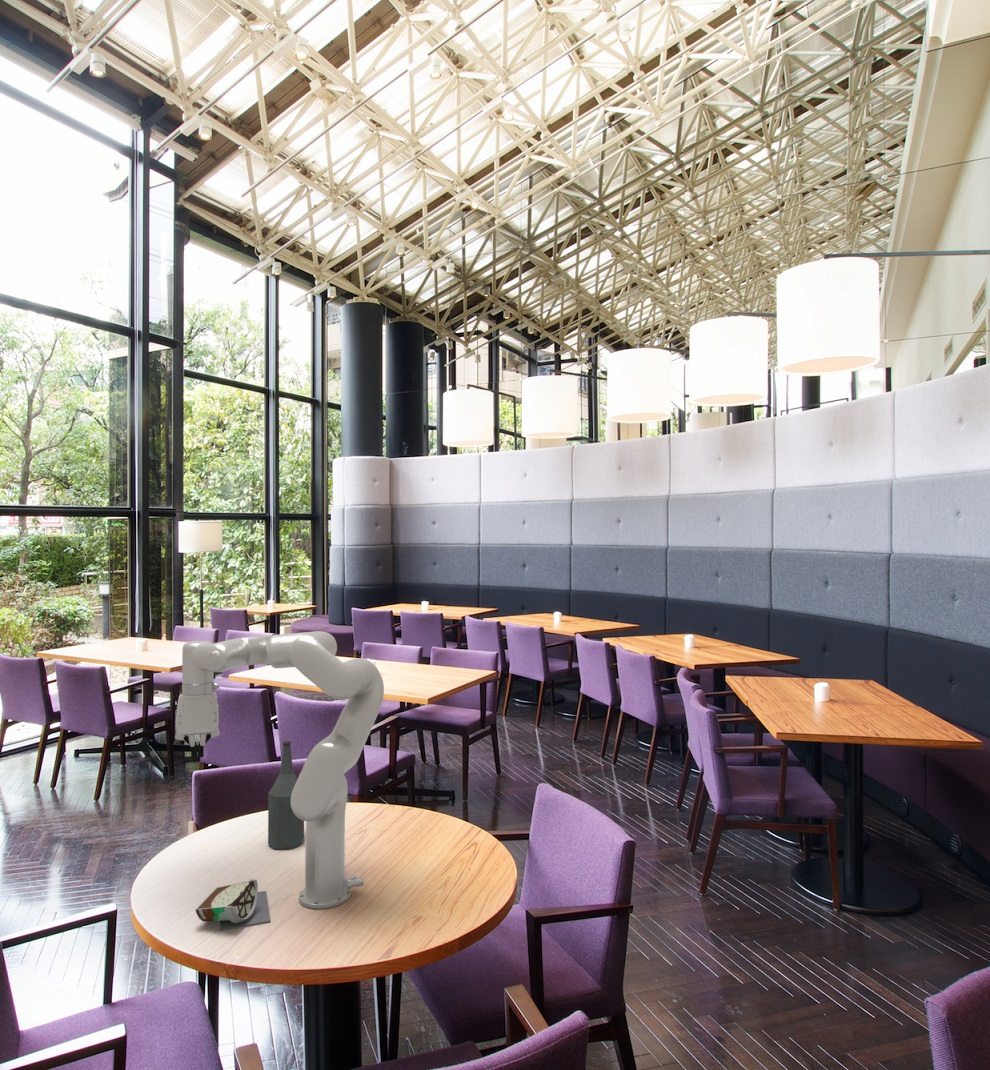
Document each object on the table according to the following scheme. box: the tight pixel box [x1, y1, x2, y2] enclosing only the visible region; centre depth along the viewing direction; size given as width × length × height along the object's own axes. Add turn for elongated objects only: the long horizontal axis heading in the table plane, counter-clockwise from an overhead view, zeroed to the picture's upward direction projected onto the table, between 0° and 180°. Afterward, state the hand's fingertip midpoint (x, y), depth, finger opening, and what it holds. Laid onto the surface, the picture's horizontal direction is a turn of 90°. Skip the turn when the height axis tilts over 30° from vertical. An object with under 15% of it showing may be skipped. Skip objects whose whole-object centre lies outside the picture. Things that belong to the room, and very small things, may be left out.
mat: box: [219, 890, 271, 932], centre depth 175 cm, size 11×16×1 cm
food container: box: [195, 878, 259, 923], centre depth 171 cm, size 12×6×10 cm
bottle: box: [267, 740, 305, 851], centre depth 216 cm, size 10×10×30 cm
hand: (197, 760), depth 189 cm, fingers closed
